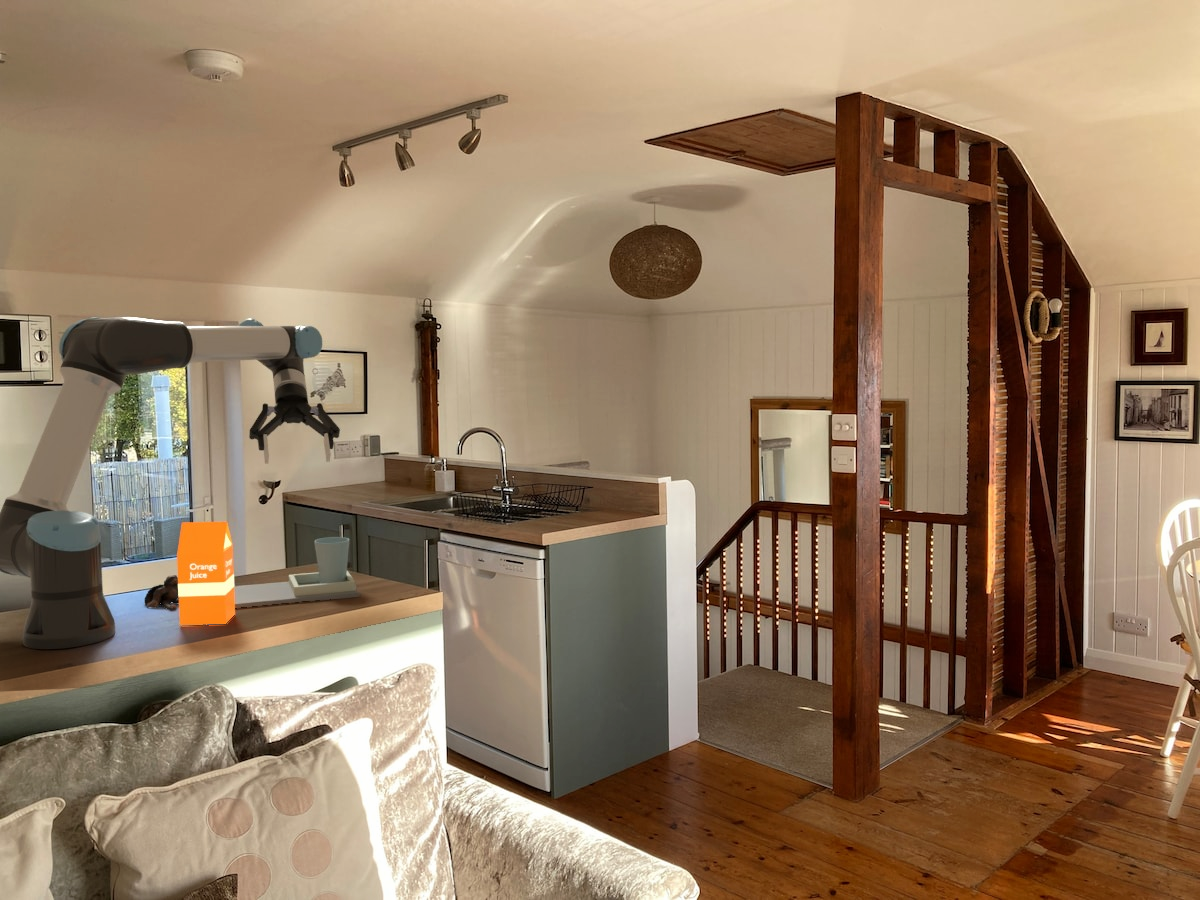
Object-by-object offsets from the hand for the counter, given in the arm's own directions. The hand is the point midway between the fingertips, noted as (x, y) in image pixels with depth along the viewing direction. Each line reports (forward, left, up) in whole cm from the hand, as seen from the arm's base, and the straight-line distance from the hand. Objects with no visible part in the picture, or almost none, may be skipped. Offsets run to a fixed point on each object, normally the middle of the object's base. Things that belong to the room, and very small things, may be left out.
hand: (298, 459), depth 218 cm
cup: (+6, -8, -28) cm, 30 cm away
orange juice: (-21, -25, -30) cm, 44 cm away
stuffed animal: (-27, -6, -30) cm, 41 cm away
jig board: (-3, -9, -29) cm, 31 cm away
